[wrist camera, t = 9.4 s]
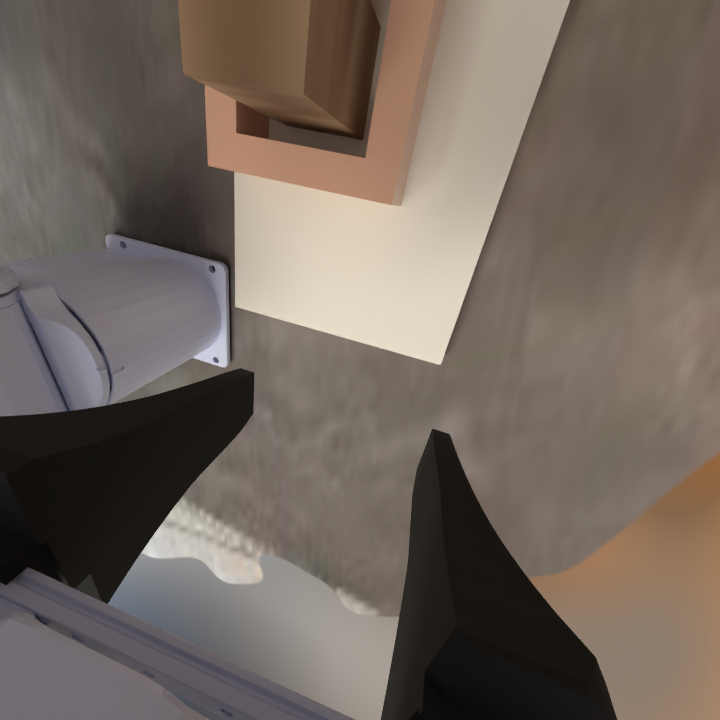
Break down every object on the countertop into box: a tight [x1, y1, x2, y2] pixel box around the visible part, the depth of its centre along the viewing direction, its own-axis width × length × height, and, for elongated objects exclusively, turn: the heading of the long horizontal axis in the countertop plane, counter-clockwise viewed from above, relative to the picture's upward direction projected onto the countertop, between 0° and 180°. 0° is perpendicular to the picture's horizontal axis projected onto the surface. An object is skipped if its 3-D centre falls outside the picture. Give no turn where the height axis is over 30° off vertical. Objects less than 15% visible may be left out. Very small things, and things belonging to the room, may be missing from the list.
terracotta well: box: [205, 0, 447, 206], centre depth 13 cm, size 9×9×3 cm
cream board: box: [234, 0, 570, 365], centre depth 16 cm, size 14×17×1 cm
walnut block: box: [178, 0, 381, 140], centre depth 11 cm, size 4×4×7 cm
